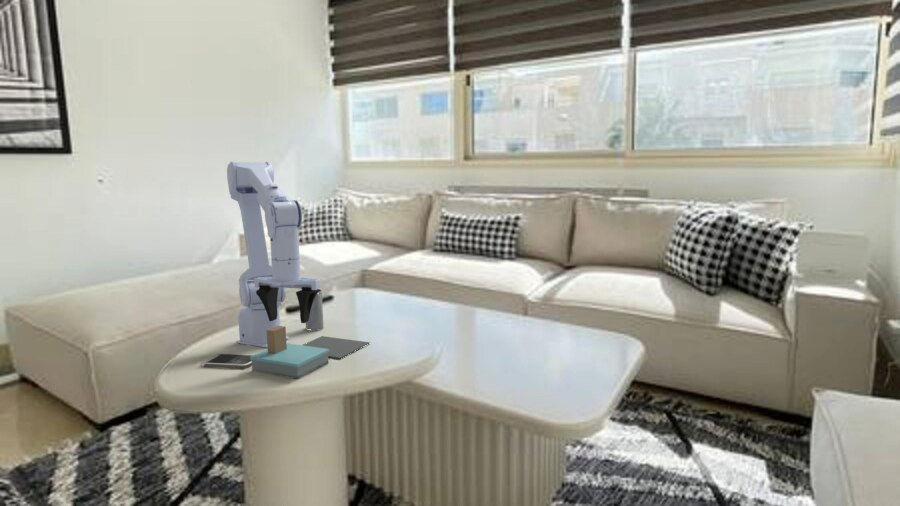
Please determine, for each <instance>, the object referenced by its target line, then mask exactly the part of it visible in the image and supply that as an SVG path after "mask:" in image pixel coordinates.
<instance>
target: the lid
mask: <svg viewBox="0 0 900 506" xmlns="http://www.w3.org/2000/svg"><path fill="white" fill-rule="evenodd" d="M266 331H267V347H266V348H267V349H265V350H263V351H260V352H258V353H256V354H252V355H253V356H251V357H250V360H256V361H262V362H268V363H274V364H280V365H286V366H292V367H299V366H302V365H304V364H306V363H308V362H310V361H312V360H314V359H316V358H318V357H320V356H322V355H324V354H326V353H328V352H329V349H324V348H317V347H311V346H304V345H303V344H297V343H290V342H289V343H288V342H287V339H286V336H287V332H286V331H287V330H286V326H283V325H280V326H276V327H274V328H271V329H268V330H266Z"/></svg>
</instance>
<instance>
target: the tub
mask: <svg viewBox="0 0 900 506" xmlns="http://www.w3.org/2000/svg"><path fill="white" fill-rule="evenodd" d="M327 364H329V358H328V353H326V354H324V355H322V356H320V357H318V358H316V359H314V360H312V361H310V362H308V363H306V364H304V365H302V366H299V367H292V366H286V365H280V364H274V363H268V362H262V361H256V360H252V366H251V370H252V372H258V373H264V374H269V375H273V376H274V375H275V376H279V377H280V376H281V377H286V378H291V379H292V378H293V379H297V380H299V379H301V378H303V377H304V376H306V375H309V374H310V373H312V372H315V371H316V370H318V369H320V368H322V367H324V366H326V365H327Z"/></svg>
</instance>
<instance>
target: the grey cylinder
mask: <svg viewBox="0 0 900 506" xmlns="http://www.w3.org/2000/svg"><path fill="white" fill-rule="evenodd" d="M306 328H307V329H311V330H317V329H321V330H323V329H324V310H323V290H322V289H321V288H319V289H318V293H317V294H316V297H315V299H314V301H313V304H312V307H311V311H310V316H309V321H308V322H306V323H305V329H306ZM322 328H323V329H322ZM317 331H318V330H317Z"/></svg>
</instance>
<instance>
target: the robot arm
mask: <svg viewBox="0 0 900 506" xmlns="http://www.w3.org/2000/svg"><path fill="white" fill-rule="evenodd" d="M226 173H227V174H226V178H227V179H226V180H227V184H228V185H227V186H228V191H229V195H230V199H232V200H234V201H236V202H237V203H238V207H239V210H240V214H241V216H240V217H241V220H242V222H241V223H242V227H243V234H244V242H245V248H246V253H247V255H246V256H247V260H248V268H247V269H246V270H245V271H244V272H243V273H241V274H240V277H239V279H238V284H239V287H238V291H239V292H238V293H239V300H240V303H241V304H242V307H241V308H240V311H239V312H238V318H237V319H238V331H239V340H237V342H236V343H237V344H241V345H248V346H255V347H262V348H268V347H267V331H266V330H268V329H271V328H274V327H276V326H281V319H280V317H281V315H280V306H282V303H283V302H284V301H285V299H286V296H287V293H286V292H287V290H286V289H300V290H297V291H295V295H296V298H297V301H298V304H299V315H300V316H299V318H300V322H301V324H306V322H308V321H309V316H310V311H311V307H312V304H313V301H314V299H315V297H316V294H317V293H318V289H321V279H319V278H311V277H309V278H308V277H303V276H301V261H300V242H299V229H300V228H301V225H302V224H303V223H302V222H303V212H302V208H301V204H300V203H299V201H298V200H293V199H292V200H290V199H289V197H288V196H287V195H286V193H285V191H284V190H283V189H282V188H281V186H280V185H278V184H277V183H274V180H275V172H274V168H273V165H272V164H271V162H270V161H263V162H260V161H259V162H256V161H253V162H249V161H248V162H245V161H244V162H243V161H242V162H241V161H240V162H237V161H236V162H235V161H229V163H228V165H227V167H226ZM262 210H263V212H264V219H265V220H264V221H265V225H266V228H267V236H268V238H269V239H270V240H269V241H270V255H271V256H270V259H271V264H270V260H269V253H268V246H267V241H266V235H265V234H266V233H265V227H264V221H263V215H262ZM286 340H289V336H287V335H286Z"/></svg>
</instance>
